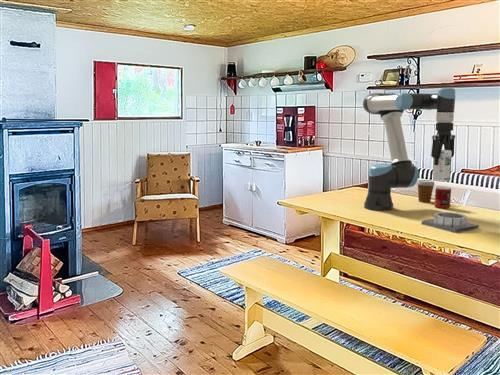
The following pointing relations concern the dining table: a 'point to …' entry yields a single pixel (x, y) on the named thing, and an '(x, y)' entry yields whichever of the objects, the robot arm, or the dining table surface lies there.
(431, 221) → the ring plate
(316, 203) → the dining table surface
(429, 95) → the robot arm
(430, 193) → the disposable coffee cup
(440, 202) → the canned food
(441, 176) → the syrup box
